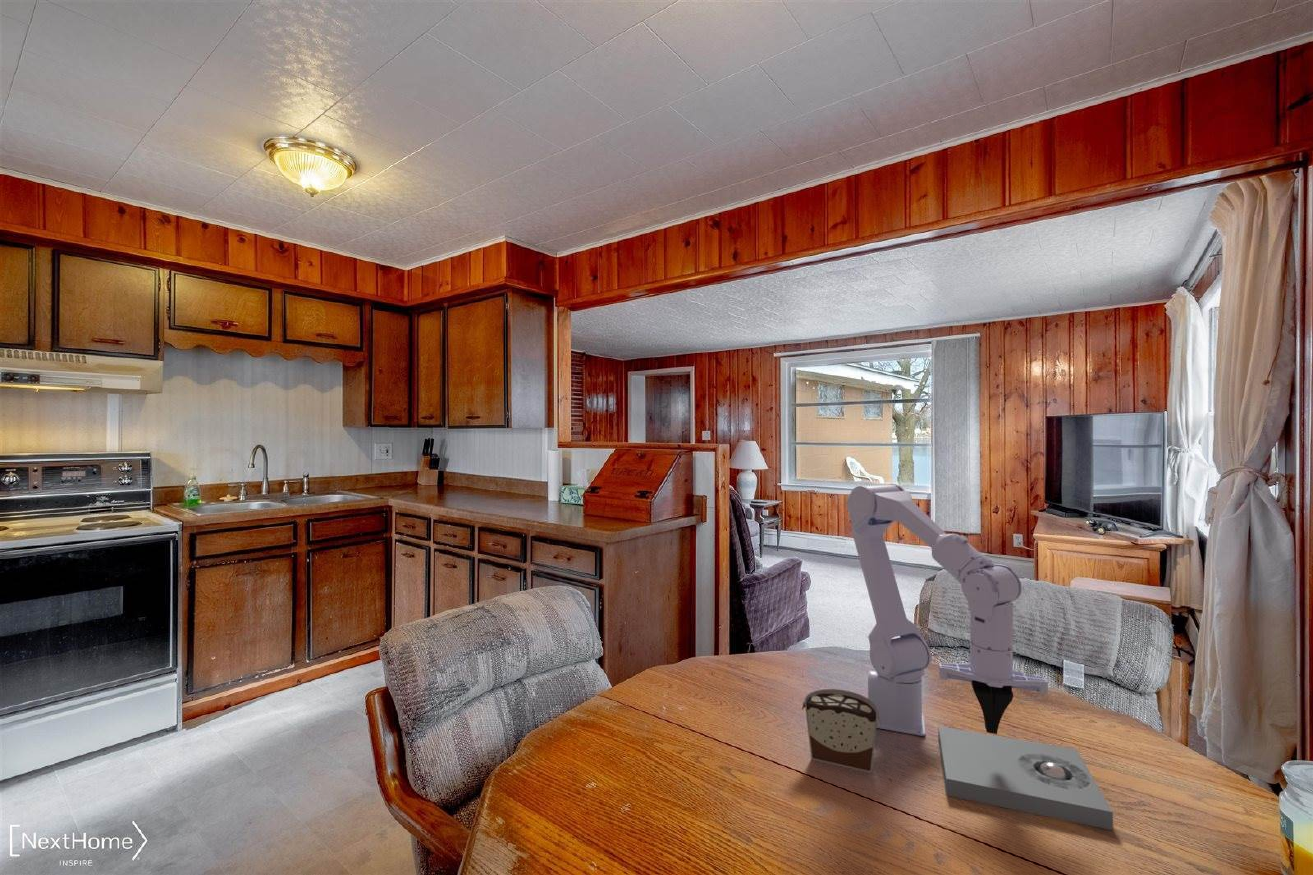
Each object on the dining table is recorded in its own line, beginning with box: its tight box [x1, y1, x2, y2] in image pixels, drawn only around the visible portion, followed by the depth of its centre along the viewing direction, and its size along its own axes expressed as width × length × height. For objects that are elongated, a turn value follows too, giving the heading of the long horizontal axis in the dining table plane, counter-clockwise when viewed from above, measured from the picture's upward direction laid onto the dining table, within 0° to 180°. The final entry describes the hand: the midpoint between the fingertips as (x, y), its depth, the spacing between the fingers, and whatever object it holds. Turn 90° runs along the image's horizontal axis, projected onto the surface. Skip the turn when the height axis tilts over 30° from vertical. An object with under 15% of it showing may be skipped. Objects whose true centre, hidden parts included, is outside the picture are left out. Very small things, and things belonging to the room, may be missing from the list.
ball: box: [1039, 762, 1067, 781], centre depth 85 cm, size 4×4×4 cm
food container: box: [801, 688, 881, 774], centre depth 94 cm, size 12×6×10 cm, turn 65°
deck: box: [937, 725, 1114, 831], centre depth 87 cm, size 20×16×2 cm
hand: (990, 730), depth 88 cm, fingers closed
